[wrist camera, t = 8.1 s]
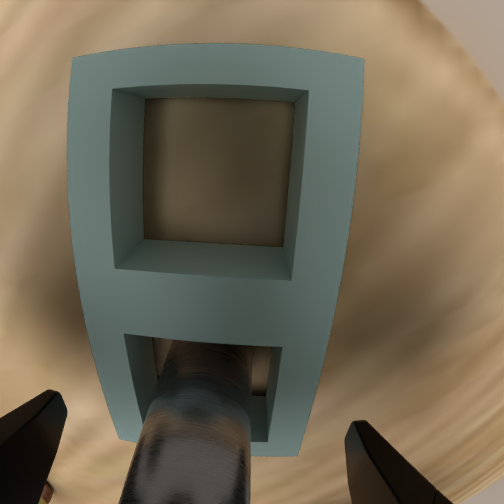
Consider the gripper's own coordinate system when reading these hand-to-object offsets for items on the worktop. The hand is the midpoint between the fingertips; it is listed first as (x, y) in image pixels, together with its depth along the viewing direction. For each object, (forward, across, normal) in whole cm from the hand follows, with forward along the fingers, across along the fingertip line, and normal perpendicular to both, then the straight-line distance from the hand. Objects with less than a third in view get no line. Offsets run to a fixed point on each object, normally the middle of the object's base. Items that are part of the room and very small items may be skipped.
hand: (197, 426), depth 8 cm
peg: (+4, 0, 0) cm, 4 cm away
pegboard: (+4, 0, -3) cm, 5 cm away
